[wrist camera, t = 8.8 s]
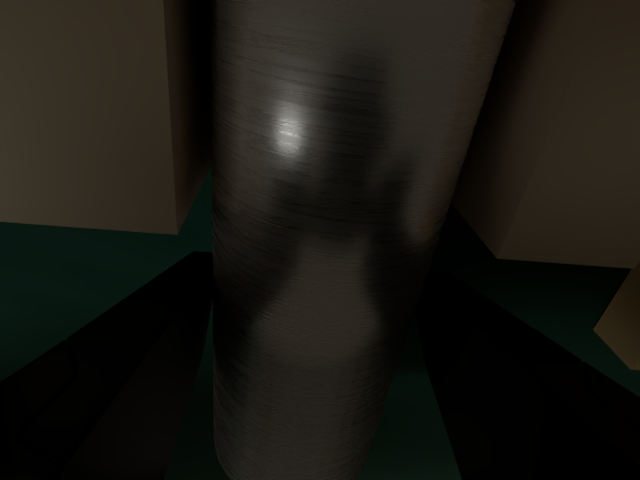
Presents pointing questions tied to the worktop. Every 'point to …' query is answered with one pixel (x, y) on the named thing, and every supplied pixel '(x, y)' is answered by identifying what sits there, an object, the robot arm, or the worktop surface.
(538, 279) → the worktop surface
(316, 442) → the axle
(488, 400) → the robot arm
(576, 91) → the bore beam
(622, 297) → the v block
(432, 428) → the worktop surface
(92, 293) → the worktop surface
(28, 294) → the worktop surface
